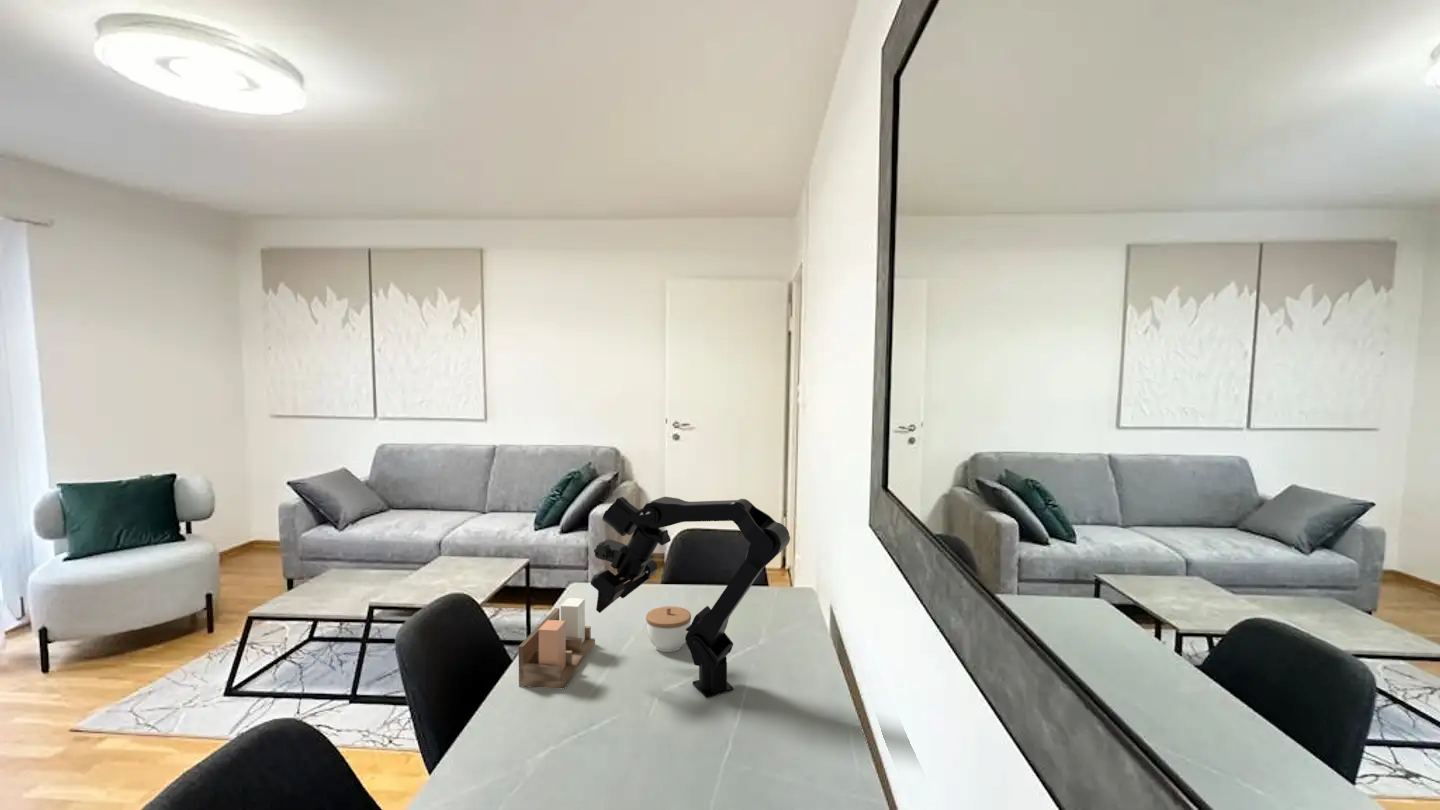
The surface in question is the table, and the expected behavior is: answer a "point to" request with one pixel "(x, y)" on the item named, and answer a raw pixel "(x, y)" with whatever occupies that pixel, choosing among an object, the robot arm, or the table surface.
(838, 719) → the table surface
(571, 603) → the white tall block
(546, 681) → the wooden desk organizer
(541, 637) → the light orange tall block
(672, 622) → the lidded jar
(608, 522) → the robot arm
